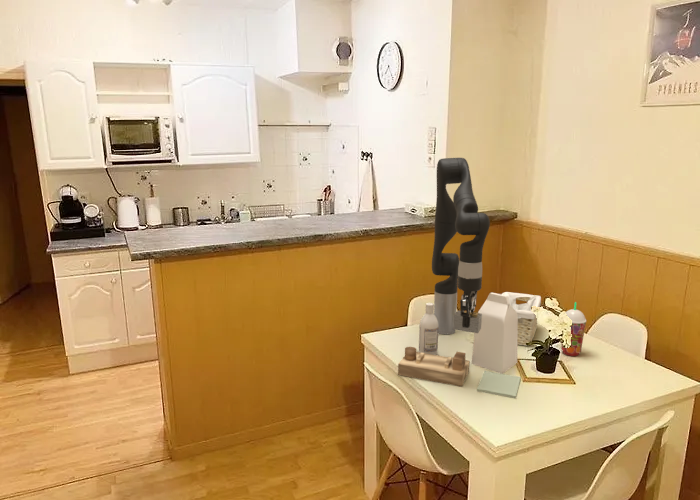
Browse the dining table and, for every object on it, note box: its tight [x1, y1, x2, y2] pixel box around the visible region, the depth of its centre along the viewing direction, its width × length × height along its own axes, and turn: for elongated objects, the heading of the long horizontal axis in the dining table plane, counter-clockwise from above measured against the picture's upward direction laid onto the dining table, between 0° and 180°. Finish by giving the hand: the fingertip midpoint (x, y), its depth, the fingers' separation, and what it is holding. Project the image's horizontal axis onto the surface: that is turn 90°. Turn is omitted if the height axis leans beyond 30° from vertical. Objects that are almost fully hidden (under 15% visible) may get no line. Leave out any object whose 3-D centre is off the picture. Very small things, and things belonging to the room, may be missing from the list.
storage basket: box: [500, 291, 542, 347], centre depth 211 cm, size 24×16×15 cm
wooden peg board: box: [397, 346, 471, 387], centre depth 178 cm, size 12×22×8 cm, turn 66°
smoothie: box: [561, 301, 587, 357], centre depth 192 cm, size 8×8×20 cm
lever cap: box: [454, 310, 482, 333], centre depth 170 cm, size 5×8×6 cm, turn 65°
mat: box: [476, 370, 522, 399], centre depth 171 cm, size 14×12×1 cm
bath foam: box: [418, 302, 439, 355], centre depth 192 cm, size 7×7×20 cm
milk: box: [470, 292, 518, 374], centre depth 184 cm, size 12×12×26 cm
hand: (467, 324), depth 170 cm, fingers closed on lever cap, 5 cm apart
